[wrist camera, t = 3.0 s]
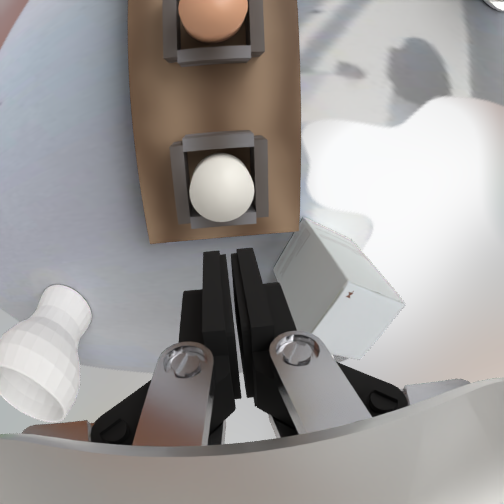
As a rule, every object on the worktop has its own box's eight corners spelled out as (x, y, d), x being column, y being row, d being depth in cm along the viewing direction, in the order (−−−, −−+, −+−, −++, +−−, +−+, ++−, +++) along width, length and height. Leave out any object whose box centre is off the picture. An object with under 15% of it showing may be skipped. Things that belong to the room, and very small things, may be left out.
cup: (116, 329, 37) (90, 424, 24) (61, 343, 37) (30, 425, 24) (74, 264, 32) (20, 354, 18) (21, 286, 32) (-31, 365, 19)
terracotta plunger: (242, -8, 16) (246, -22, 13) (244, 41, 18) (248, 33, 15) (182, -5, 16) (178, -18, 13) (183, 45, 18) (178, 37, 15)
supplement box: (270, 269, 35) (297, 348, 24) (303, 214, 32) (349, 278, 21) (321, 288, 37) (359, 362, 26) (354, 240, 35) (409, 304, 24)
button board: (277, -97, 14) (292, -129, 8) (289, 215, 32) (307, 245, 26) (145, -91, 13) (134, -122, 7) (156, 226, 31) (144, 259, 25)
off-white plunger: (248, 151, 22) (253, 158, 20) (250, 205, 24) (255, 219, 22) (189, 155, 22) (186, 163, 19) (194, 209, 24) (192, 224, 21)
